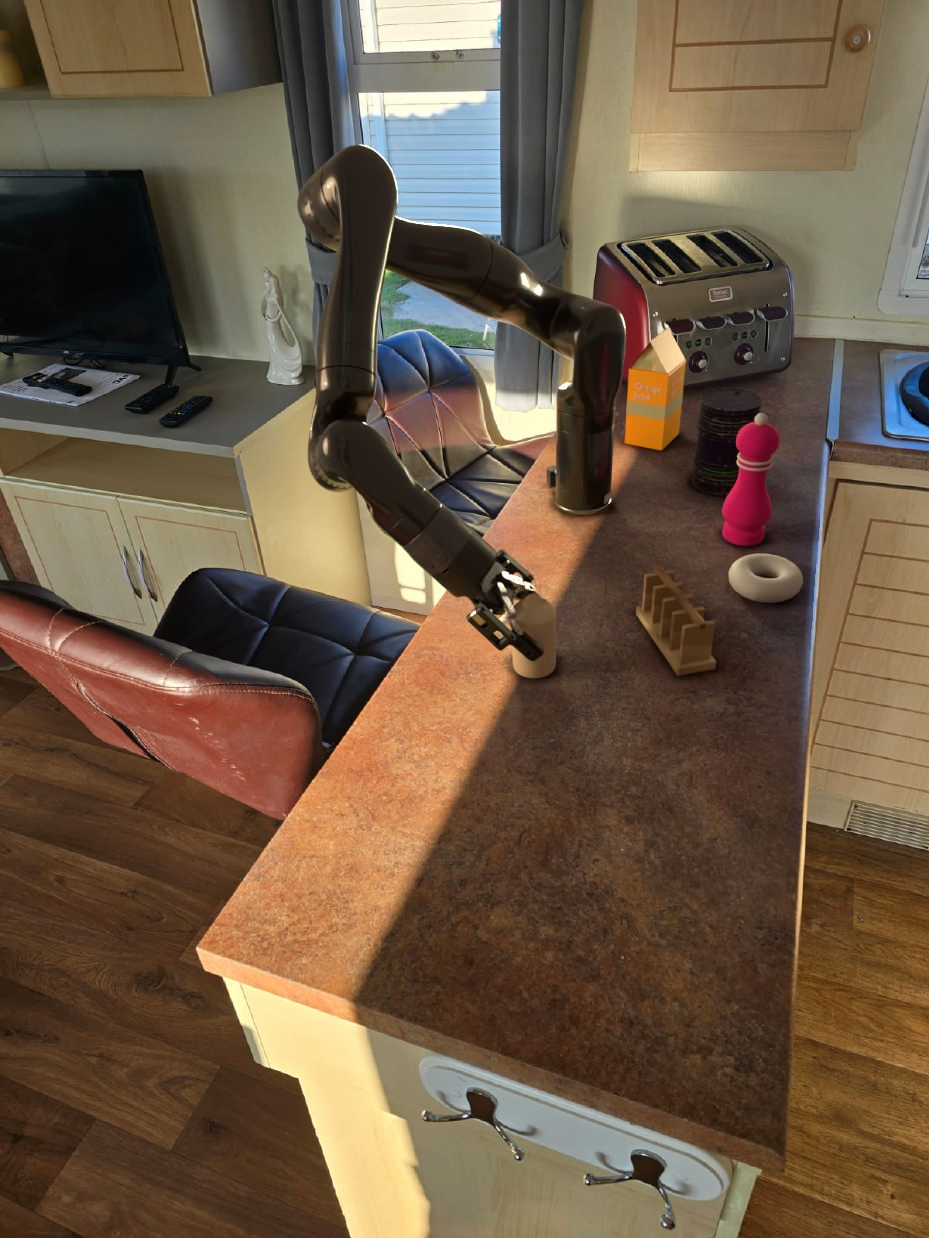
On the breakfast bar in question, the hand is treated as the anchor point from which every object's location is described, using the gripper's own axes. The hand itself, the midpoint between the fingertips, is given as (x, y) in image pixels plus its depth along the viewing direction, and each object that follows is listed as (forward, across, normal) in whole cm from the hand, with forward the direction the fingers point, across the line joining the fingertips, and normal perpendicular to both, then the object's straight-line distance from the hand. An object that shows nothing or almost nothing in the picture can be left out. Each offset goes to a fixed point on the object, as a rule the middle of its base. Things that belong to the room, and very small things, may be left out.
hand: (544, 635), depth 106 cm
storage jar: (+19, -55, +12) cm, 60 cm away
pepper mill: (+22, -37, +15) cm, 45 cm away
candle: (+3, 0, -4) cm, 5 cm away
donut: (+23, -22, +16) cm, 36 cm away
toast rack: (+15, -8, +8) cm, 18 cm away
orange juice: (+11, -73, +4) cm, 73 cm away
